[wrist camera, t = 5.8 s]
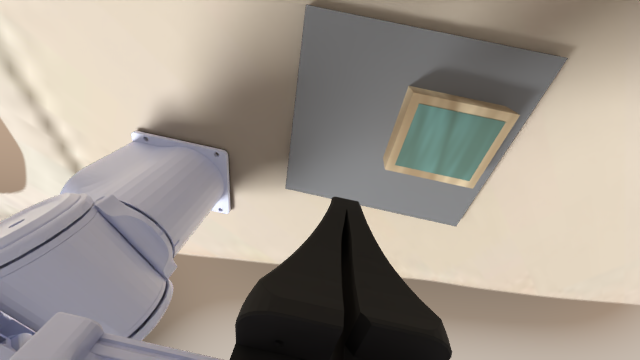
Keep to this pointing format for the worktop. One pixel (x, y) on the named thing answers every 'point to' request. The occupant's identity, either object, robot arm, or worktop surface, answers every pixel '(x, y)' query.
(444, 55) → the mat
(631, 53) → the worktop surface
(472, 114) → the wooden block
